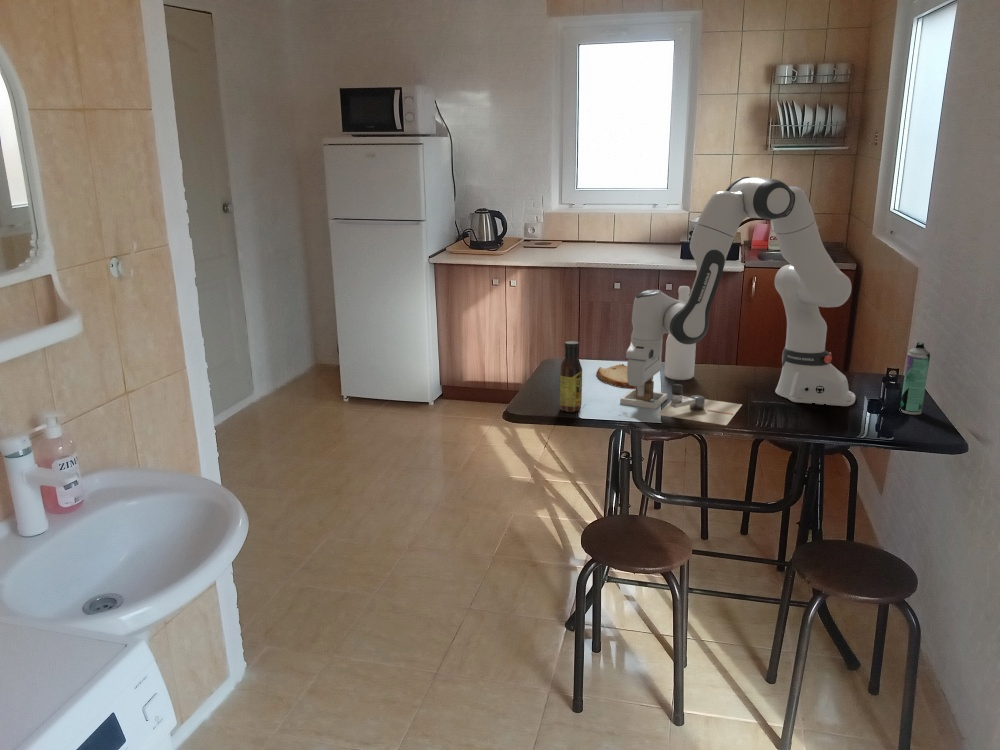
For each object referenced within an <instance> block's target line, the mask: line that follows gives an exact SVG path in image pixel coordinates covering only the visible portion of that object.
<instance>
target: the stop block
mask: <svg viewBox="0 0 1000 750" xmlns="http://www.w3.org/2000/svg"><path fill="white" fill-rule="evenodd" d="M654 387H655V381H654V380H653V381H646V382H645V385H644V389H645V395H644V396H643V397H642V396H638V389H637V386H636V388H635V389H636V396H635V399H636V400H643V401H647V402H651V400H653V399H652V398H653V392H654Z"/></svg>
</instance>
